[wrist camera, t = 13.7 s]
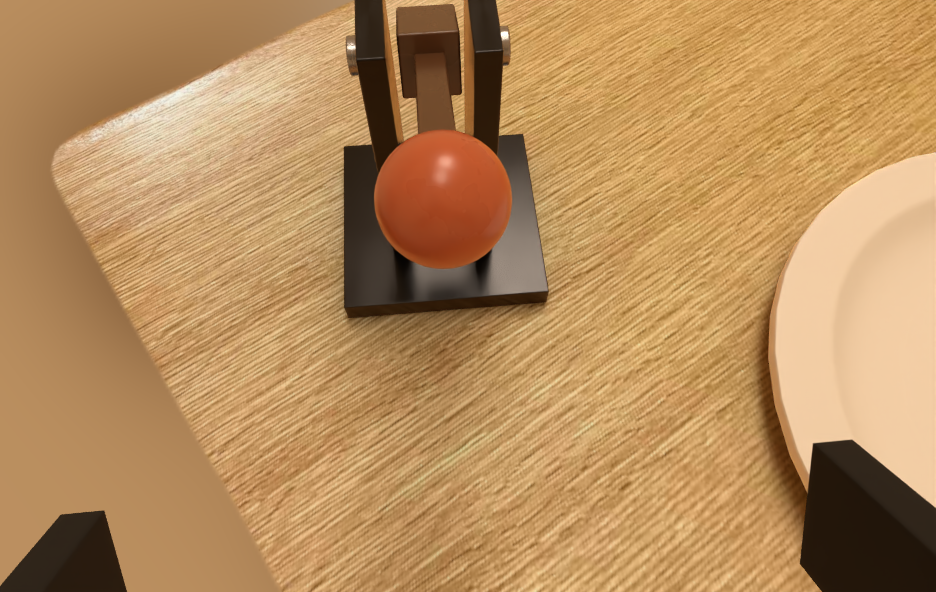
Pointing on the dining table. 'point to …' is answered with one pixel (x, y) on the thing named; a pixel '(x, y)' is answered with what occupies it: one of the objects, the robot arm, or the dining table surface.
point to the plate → (863, 326)
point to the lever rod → (439, 156)
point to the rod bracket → (370, 56)
